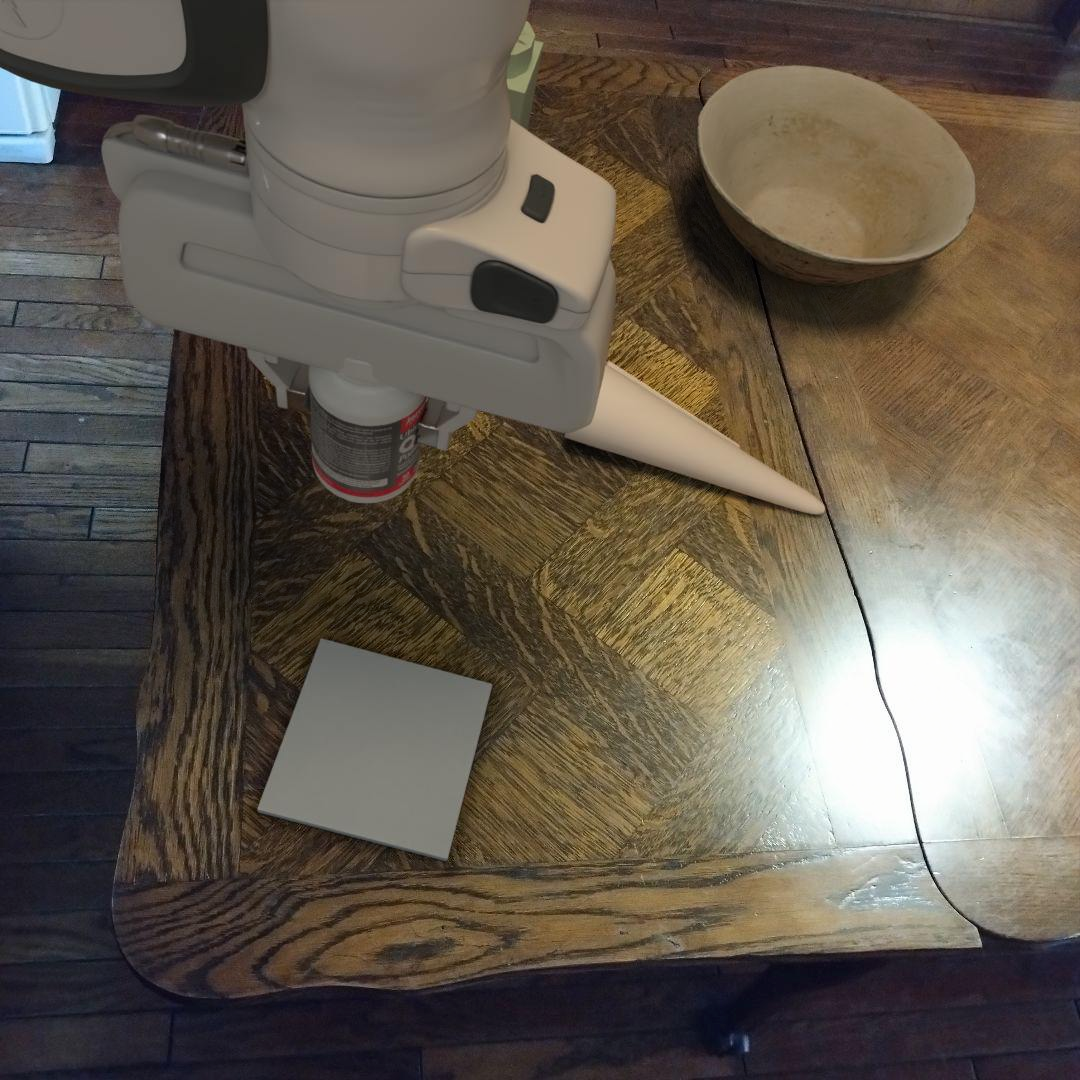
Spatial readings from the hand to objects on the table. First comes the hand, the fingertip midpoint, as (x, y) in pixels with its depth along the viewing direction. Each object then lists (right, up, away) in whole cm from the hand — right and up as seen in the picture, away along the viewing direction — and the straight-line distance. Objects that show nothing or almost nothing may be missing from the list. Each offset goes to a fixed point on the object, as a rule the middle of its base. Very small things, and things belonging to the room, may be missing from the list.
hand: (368, 419), depth 47 cm
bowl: (+31, +21, +42) cm, 56 cm away
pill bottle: (-1, -2, +3) cm, 4 cm away
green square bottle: (+2, +25, +39) cm, 47 cm away
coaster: (-1, -18, +12) cm, 21 cm away
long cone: (+19, -1, +26) cm, 33 cm away
